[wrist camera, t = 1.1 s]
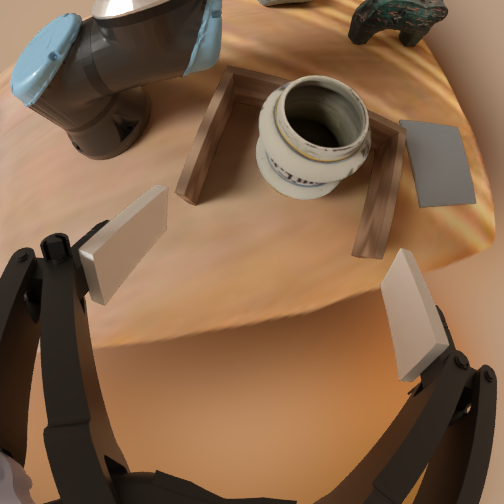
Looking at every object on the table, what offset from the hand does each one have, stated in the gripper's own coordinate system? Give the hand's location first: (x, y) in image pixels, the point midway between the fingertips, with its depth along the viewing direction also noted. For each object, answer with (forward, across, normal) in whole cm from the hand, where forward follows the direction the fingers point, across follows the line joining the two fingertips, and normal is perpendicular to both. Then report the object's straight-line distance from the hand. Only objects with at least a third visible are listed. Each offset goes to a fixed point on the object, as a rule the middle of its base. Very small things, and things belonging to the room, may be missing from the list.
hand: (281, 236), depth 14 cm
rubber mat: (+35, +27, +4) cm, 45 cm away
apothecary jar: (+28, 0, -4) cm, 28 cm away
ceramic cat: (+50, +14, +25) cm, 57 cm away
